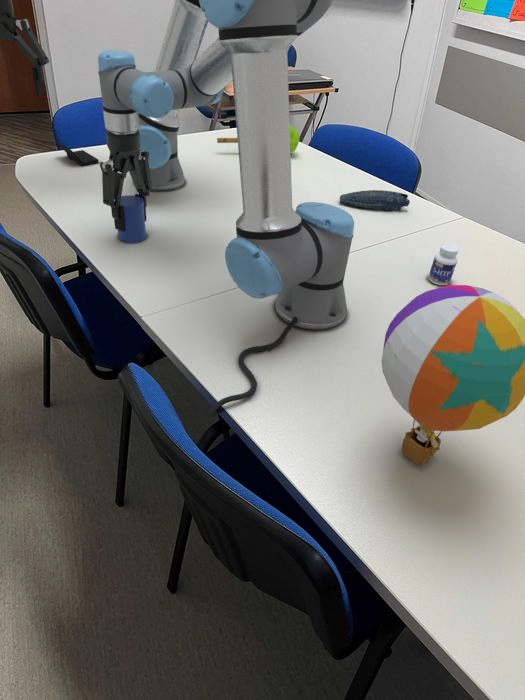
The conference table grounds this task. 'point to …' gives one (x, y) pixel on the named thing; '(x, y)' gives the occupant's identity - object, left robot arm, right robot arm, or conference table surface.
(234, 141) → the decorative tree
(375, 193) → the fish model
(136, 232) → the can
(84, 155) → the black handled block
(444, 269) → the pill bottle
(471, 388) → the toy
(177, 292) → the conference table surface
